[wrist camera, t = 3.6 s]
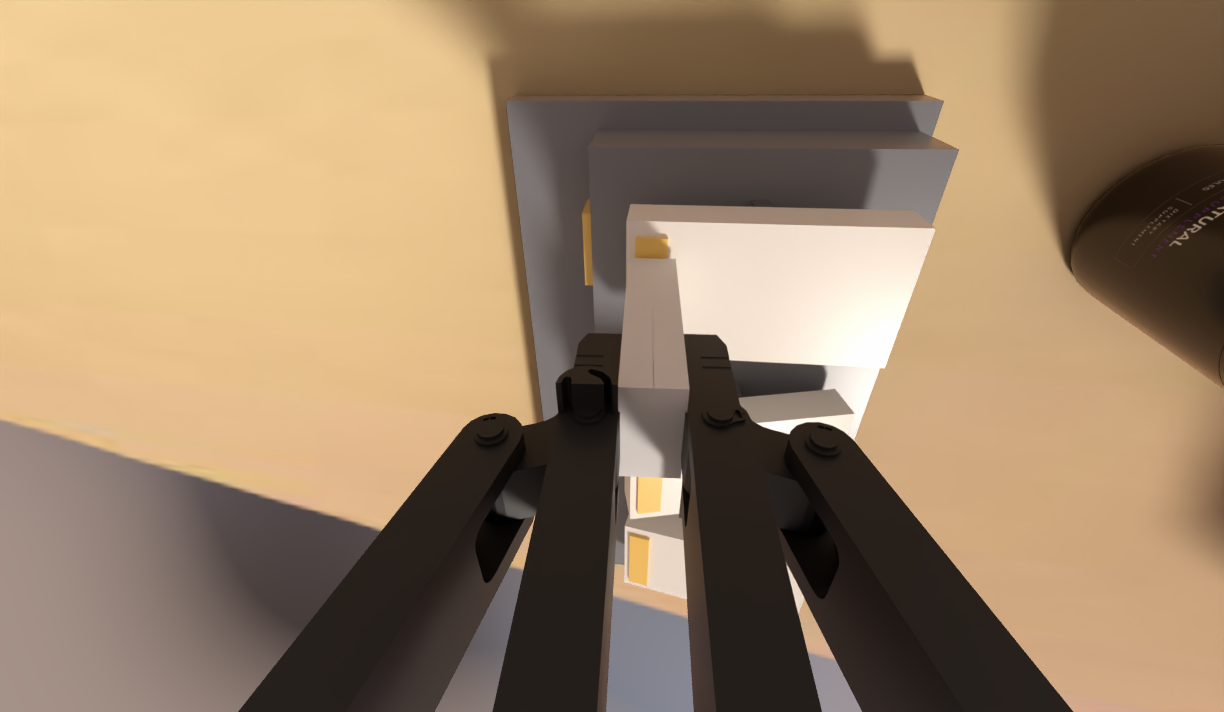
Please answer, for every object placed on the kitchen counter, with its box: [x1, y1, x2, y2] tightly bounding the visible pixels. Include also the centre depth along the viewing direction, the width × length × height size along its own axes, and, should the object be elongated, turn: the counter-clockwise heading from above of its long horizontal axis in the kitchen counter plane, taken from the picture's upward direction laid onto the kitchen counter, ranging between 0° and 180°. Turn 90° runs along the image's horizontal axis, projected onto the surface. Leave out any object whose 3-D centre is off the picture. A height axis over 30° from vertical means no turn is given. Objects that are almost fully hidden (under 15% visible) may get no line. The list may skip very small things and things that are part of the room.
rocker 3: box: [624, 514, 804, 614], centre depth 26 cm, size 9×5×2 cm, turn 91°
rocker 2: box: [625, 389, 855, 519], centre depth 22 cm, size 9×5×2 cm, turn 91°
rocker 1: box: [626, 204, 936, 368], centre depth 17 cm, size 9×5×2 cm, turn 91°
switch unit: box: [506, 95, 959, 565], centre depth 25 cm, size 16×26×6 cm, turn 1°
